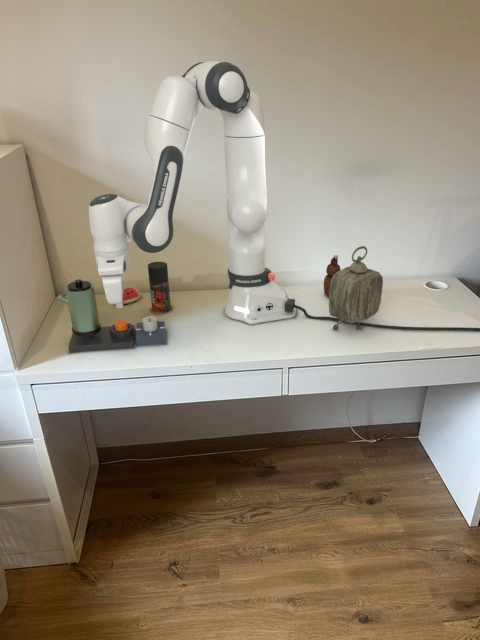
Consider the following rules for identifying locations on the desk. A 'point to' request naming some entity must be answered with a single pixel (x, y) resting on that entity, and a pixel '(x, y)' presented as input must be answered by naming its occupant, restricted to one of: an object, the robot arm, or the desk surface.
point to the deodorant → (159, 287)
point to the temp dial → (149, 323)
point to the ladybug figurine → (130, 295)
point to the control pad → (150, 335)
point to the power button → (121, 325)
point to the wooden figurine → (330, 274)
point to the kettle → (82, 308)
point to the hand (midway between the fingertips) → (120, 305)
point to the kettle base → (103, 340)
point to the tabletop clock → (355, 292)
